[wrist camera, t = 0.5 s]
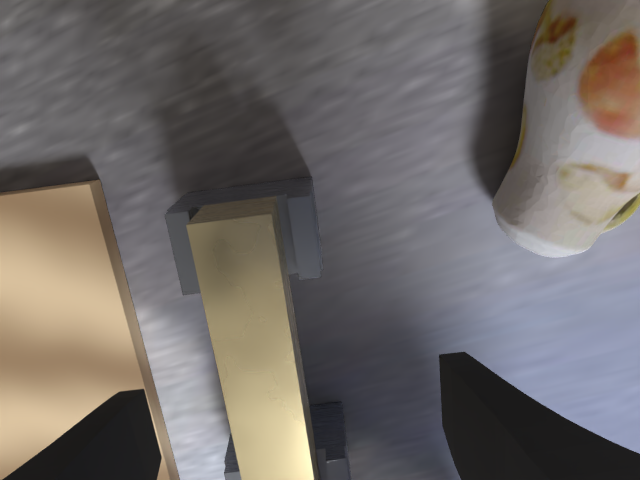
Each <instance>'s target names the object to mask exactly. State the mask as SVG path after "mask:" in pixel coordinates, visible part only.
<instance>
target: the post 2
mask: <svg viewBox="0 0 640 480" xmlns="http://www.w3.org/2000/svg"><path fill="white" fill-rule="evenodd" d="M309 408H310V415H311V421H312V428H313V434H314V440H315V447H316V453H317V460H318V466H319V472H320V479H321V480H351V473H350V464H349V456H348V448H347V440H346V433H345V425H344V417H343V410H342V402H336V403H328V404H320V405H312V406H309ZM225 466H226V467H225V472H224V475H225V479H226V480H242V479H241V475H240V470H239V465H238V461H237V456H236V452H235V447H234V442H233V438H232V433H231V434H230V438H229V443H228V447H227V452H226V456H225Z"/></svg>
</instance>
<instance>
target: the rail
mask: <svg viewBox="0 0 640 480" xmlns="http://www.w3.org/2000/svg"><path fill="white" fill-rule="evenodd" d="M186 227H187V231H188V236H189V240H190V245H191V250H192V254H193V259H194V263H195V268H196V273H197V277H198V282H199V286H200V291H201V296H202V300H203V305H204V309H205V314H206V318H207V323H208V328H209V332H210V337H211V341H212V346H213V351H214V355H215V360H216V364H217V369H218V374H219V378H220V383H221V387H222V392H223V397H224V401H225V406H226V410H227V415H228V420H229V424H230V429H231V433H232V438H233V442H234V447H235V452H236V456H237V461H238V465H239V470H240V475H241V479H242V480H321V479H320V472H319V466H318V460H317V453H316V447H315V440H314V434H313V428H312V421H311V415H310V408H309V402H308V396H307V389H306V383H305V376H304V370H303V363H302V357H301V351H300V344H299V338H298V331H297V325H296V319H295V312H294V306H293V299H292V293H291V287H290V280H289V274H288V267H287V261H286V255H285V248H284V242H283V235H282V229H281V222H280V216H279V210H278V203H277V197H276V196H272V197H265V198H257V199H249V200H241V201H234V202H226V203H218V204H211V205H204V206H203V207H202V208H201V209H200V210H199V211H198V212H197V213H196V215H195V216H194V217H193V218H192V219H191V220H190V221H189V222H188V224H187V225H186Z"/></svg>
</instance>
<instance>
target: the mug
mask: <svg viewBox="0 0 640 480" xmlns="http://www.w3.org/2000/svg"><path fill="white" fill-rule="evenodd" d="M639 205H640V0H549V1H548V3H547V4H546V6H545V8H544V11H543V13H542V15H541V17H540V19H539V22H538V24H537V27H536V31H535V34H534V37H533V41H532V45H531V48H530V54H529V60H528V68H527V76H526V85H525V94H524V102H523V114H522V122H521V132H520V137H519V142H518V147H517V150H516V153H515V156H514V159H513V161H512V163H511V166H510V168H509V170H508V172H507V174H506V176H505V178H504V180H503V182H502V184H501V186H500V188H499V189H498V191H497V193H496V195H495V197H494V199H493V203H492V206H493V209H494V213H495V217H496V220H497V223H498V225H499V226H500V228H501V229H502V231H503V232H504V233H505V234H506V235H507V236H508V237H509V238H510V239H511V240H513V241H514V242H515V243H516V244H518V245H520V246H521V247H523V248H525V249H527V250H529V251H531V252H534V253H536V254H539V255H542V256H546V257H553V258H557V257H565V256H569V255H573V254H579V253H582V252H584V251H586V250H587V249H589V248H590V247H591V246H592V245H593V243H594V242H595V240H596V239H597V238H598V236H599V235H600V234H601V233H604V232H607V231H609V230H612V229H614V228H616V227H617V226H619V225H621V224H622V223H623V222H625V221H626V220H627V219H628V218H629V217H630V216H631V215H632V214H633V213H634V212H635V211H636V210H637V208H638V207H639Z"/></svg>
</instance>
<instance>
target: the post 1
mask: <svg viewBox="0 0 640 480" xmlns="http://www.w3.org/2000/svg"><path fill="white" fill-rule="evenodd" d="M272 196H276V197H277V203H278V210H279V216H280V222H281V229H282V235H283V242H284V248H285V255H286V261H287V267H288V274H296V273H298V277H299V280H304V279H312V278H320V277H321V270H323V262H322V252H321V243H320V235H319V228H318V220H317V212H316V205H315V197H314V190H313V182H312V177H305V178H298V179H290V180H282V181H274V182H267V183H259V184H251V185H244V186H236V187H228V188H221V189H213V190H205V191H198V192H190V193H186V194H185V195H184V196H183V197H182V198H181V199H180V200H178V201H177V202H176V203H175V204H174V205H173V206H171V207H170V208H169V209H168V210H167V211H168V212H167V213H166V214H165V219H166V223H167V227H168V232H169V236H170V241H171V245H172V249H173V254H174V258H175V262H176V267H177V271H178V275H179V280H180V284H181V288H182V293H183V295H187V294H195V293H201V291H200V286H199V282H198V277H197V273H196V268H195V263H194V259H193V254H192V250H191V245H190V240H189V236H188V231H187V227H186V225H187V224H188V222H189V221H190V220H191V219H192V218H193V217H194V216H195V215H196V213H197V212H198V211H199V210H200V209H201V208H202V207H203V206H204V205H211V204H218V203H226V202H234V201H241V200H249V199H257V198H265V197H272Z"/></svg>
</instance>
